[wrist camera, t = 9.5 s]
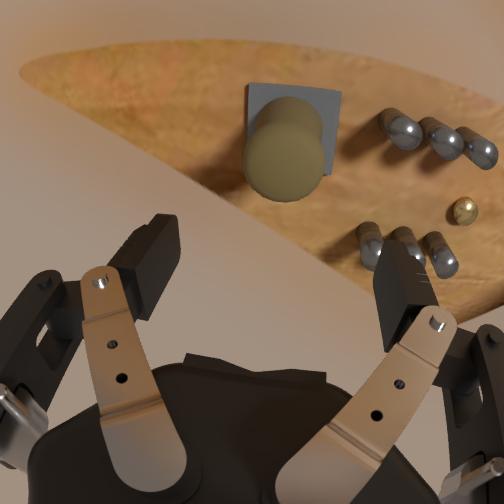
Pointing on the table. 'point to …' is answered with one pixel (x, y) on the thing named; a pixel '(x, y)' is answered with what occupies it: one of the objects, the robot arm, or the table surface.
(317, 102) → the coaster
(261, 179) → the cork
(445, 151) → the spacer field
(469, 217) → the glossy gold bead
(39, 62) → the table surface
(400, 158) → the table surface
